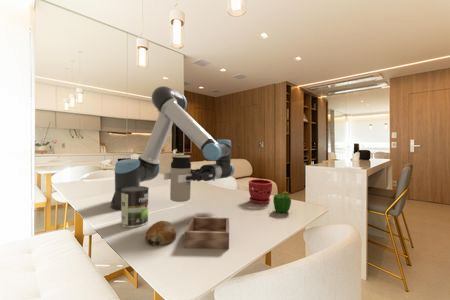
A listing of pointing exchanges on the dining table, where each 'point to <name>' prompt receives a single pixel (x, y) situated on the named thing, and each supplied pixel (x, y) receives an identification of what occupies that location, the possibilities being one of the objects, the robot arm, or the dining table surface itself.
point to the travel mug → (178, 167)
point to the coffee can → (134, 206)
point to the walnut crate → (207, 233)
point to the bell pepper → (282, 202)
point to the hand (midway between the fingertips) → (171, 177)
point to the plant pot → (260, 191)
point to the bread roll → (160, 233)
